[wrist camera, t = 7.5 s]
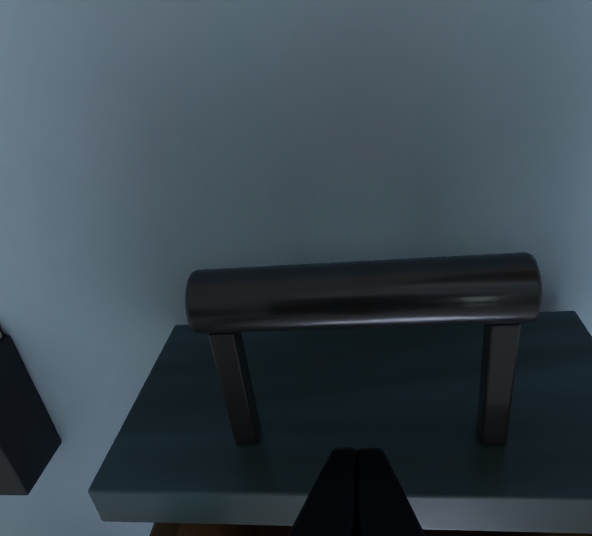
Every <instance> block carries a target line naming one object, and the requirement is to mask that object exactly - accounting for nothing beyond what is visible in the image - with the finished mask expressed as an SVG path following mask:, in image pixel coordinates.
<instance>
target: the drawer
mask: <svg viewBox="0 0 592 536" xmlns="http://www.w3.org/2000/svg"><path fill="white" fill-rule="evenodd" d="M185 304H186V313H187V318H188V321H189V324H190V325H176V326H174V328H173V330H172V332H171V334H170V336H169V338H168V340H167V342H166V344H165V345H164V347H163V349H162V351H161V353H160V355H159V357H158V359H157V361H156V363H155V364H154V366H153V368H152V370H151V372H150V374H149V376H148V378H147V380H146V382H145V383H144V385H143V387H142V389H141V391H140V393H139V395H138V397H137V399H136V401H135V402H134V404H133V406H132V408H131V410H130V412H129V414H128V416H127V418H126V420H125V421H124V423H123V425H122V427H121V429H120V431H119V433H118V435H117V437H116V439H115V440H114V442H113V444H112V446H111V448H110V450H109V452H108V454H107V456H106V458H105V459H104V461H103V463H102V465H101V467H100V469H99V471H98V473H97V475H96V477H95V478H94V480H93V482H92V484H91V486H90V488H89V491H88V493H89V495H90V497H91V499H92V501H93V503H94V505H95V507H96V509H97V511H98V513H99V515H100V517H101V519H102V520H103V521H116V522H155V523H154V525H153V528H152V531H151V534H150V536H287V535H288V534H289V532H290V530H291V528H292V526H293V524H294V522H295V520H296V518H297V516H298V514H299V512H300V511H301V509H302V507H303V505H304V503H305V501H306V499H307V497H308V495H309V493H310V491H311V489H312V488H313V486H314V484H315V482H316V480H317V478H318V476H319V474H320V472H321V470H322V468H323V466H324V465H325V463H326V461H327V459H328V457H329V455H330V453H331V451H332V450H333V449H334V448H337V447H353V448H355V449H357V451H358V450H359V449H360V448H362V447H366V448H381V449H382V450H383V451H384V453H385V455H386V457H387V459H388V461H389V463H390V465H391V467H392V469H393V471H394V473H395V475H396V477H397V479H398V481H399V483H400V485H401V487H402V489H403V491H404V493H405V495H406V497H407V499H408V501H409V503H410V505H411V507H412V509H413V511H414V513H415V515H416V517H417V519H418V521H419V523H420V525H421V527H422V529H423V531H424V533H425V535H426V536H592V336H591V335H590V333H589V332H588V330H587V329H586V327H585V326H584V324H583V323H582V321H581V320H580V318H579V317H578V315H577V314H576V312H575V311H556V312H540V310H541V304H542V282H541V276H540V271H539V268H538V265H537V262H536V260H535V258H534V257H533V256H532V255H531V254H529V253H526V252H523V253H504V254H485V255H467V256H448V257H429V258H410V259H391V260H372V261H353V262H335V263H316V264H297V265H278V266H259V267H240V268H222V269H203V270H196V271H194V272H192V273H191V275H190V276H189V279H188V282H187V287H186V295H185Z"/></svg>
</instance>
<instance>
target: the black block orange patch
mask: <svg viewBox="0 0 592 536" xmlns="http://www.w3.org/2000/svg"><path fill="white" fill-rule="evenodd" d="M60 444H61V441H60V439H59V437H58V434H57V432H56V430H55V428H54V426H53V424H52V422H51V420H50V418H49V416H48V414H47V412H46V410H45V408H44V406H43V404H42V402H41V400H40V398H39V396H38V394H37V392H36V389H35V387H34V385H33V383H32V381H31V379H30V377H29V375H28V373H27V371H26V369H25V367H24V365H23V363H22V361H21V359H20V357H19V355H18V353H17V351H16V349H15V346H14V344H13V342H12V340H11V338H10V337H9V336H2V334H1V332H0V495H28V494H29V493H30V491H31V490H32V488H33V486H34V485H35V483H36V482H37V480H38V479H39V477H40V475H41V474H42V472H43V471H44V469H45V468H46V466H47V465H48V463H49V461H50V460H51V458H52V457H53V455H54V454H55V452H56V450H57V449H58V447H59V446H60Z"/></svg>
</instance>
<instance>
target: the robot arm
mask: <svg viewBox="0 0 592 536" xmlns="http://www.w3.org/2000/svg"><path fill="white" fill-rule="evenodd" d="M287 536H426V535H425V533H424V531H423V529H422V527H421V525H420V523H419V521H418V519H417V517H416V515H415V513H414V511H413V509H412V507H411V505H410V503H409V501H408V499H407V497H406V495H405V493H404V491H403V489H402V487H401V485H400V483H399V481H398V479H397V477H396V475H395V473H394V471H393V469H392V467H391V465H390V463H389V461H388V459H387V457H386V455H385V453H384V451H383V450H382V449H381V448H366V447H362V448H360V449H359V450H358V451H357V449H355V448H353V447H337V448H334V449H333V450H332V451H331V453H330V455H329V457H328V459H327V461H326V463H325V465H324V466H323V468H322V470H321V472H320V474H319V476H318V478H317V480H316V482H315V484H314V486H313V488H312V489H311V491H310V493H309V495H308V497H307V499H306V501H305V503H304V505H303V507H302V509H301V511H300V512H299V514H298V516H297V518H296V520H295V522H294V524H293V526H292V528H291V530H290V532H289V534H288V535H287Z"/></svg>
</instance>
